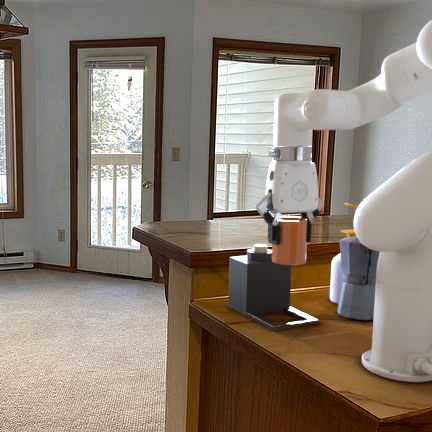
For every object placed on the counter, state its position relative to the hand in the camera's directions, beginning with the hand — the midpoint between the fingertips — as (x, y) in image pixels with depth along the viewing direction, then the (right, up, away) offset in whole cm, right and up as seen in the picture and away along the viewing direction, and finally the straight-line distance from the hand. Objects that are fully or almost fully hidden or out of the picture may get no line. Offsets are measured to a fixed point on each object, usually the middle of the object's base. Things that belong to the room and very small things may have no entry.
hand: (289, 241), depth 115 cm
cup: (0, -4, +1) cm, 4 cm away
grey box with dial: (-3, -17, +18) cm, 25 cm away
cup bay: (+1, -18, +9) cm, 20 cm away
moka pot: (+19, -18, +12) cm, 29 cm away
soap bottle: (+21, -16, +23) cm, 35 cm away
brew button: (-3, -3, +16) cm, 16 cm away
